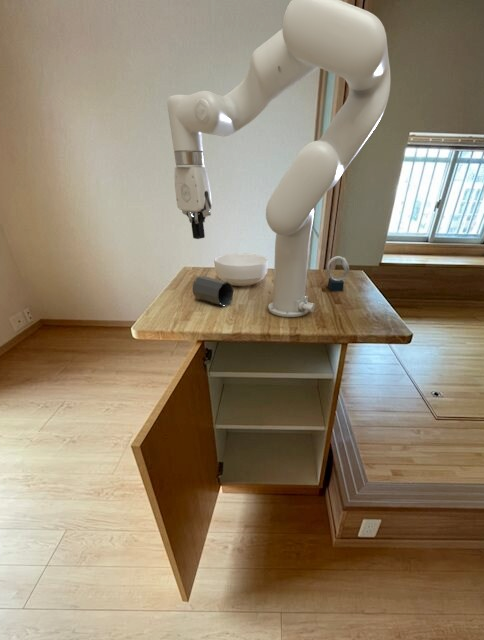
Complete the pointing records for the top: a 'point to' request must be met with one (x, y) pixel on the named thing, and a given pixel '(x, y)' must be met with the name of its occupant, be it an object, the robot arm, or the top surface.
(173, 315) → the top surface
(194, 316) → the top surface
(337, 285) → the black block with loop
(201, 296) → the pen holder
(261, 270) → the bowl
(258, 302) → the top surface
